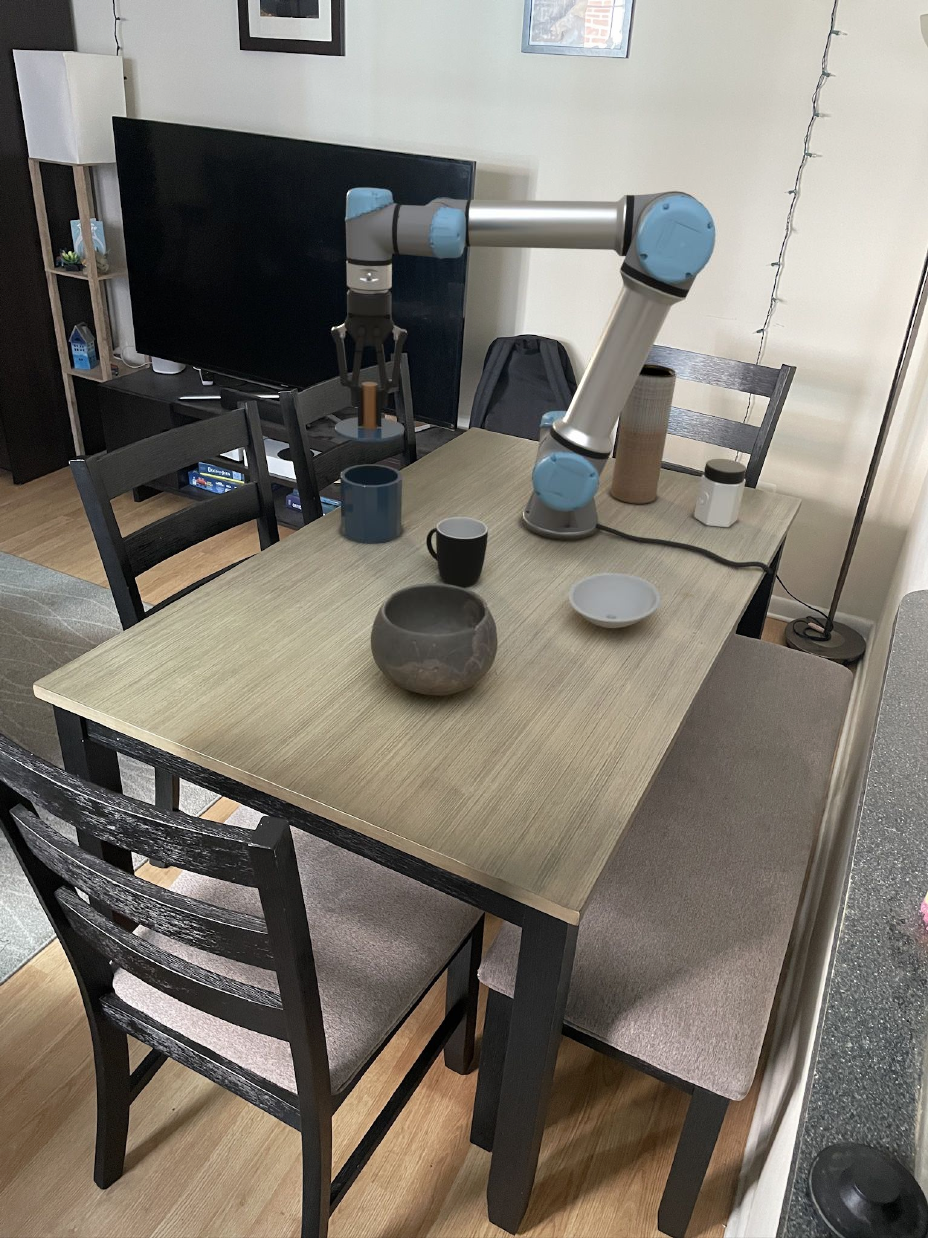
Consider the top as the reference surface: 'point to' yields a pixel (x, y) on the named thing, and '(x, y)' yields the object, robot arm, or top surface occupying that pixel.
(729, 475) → the jar
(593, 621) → the dish
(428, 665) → the bowl
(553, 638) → the top surface
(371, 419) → the lid
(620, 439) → the vase
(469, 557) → the mug
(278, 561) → the top surface
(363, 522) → the blue cylindrical container
